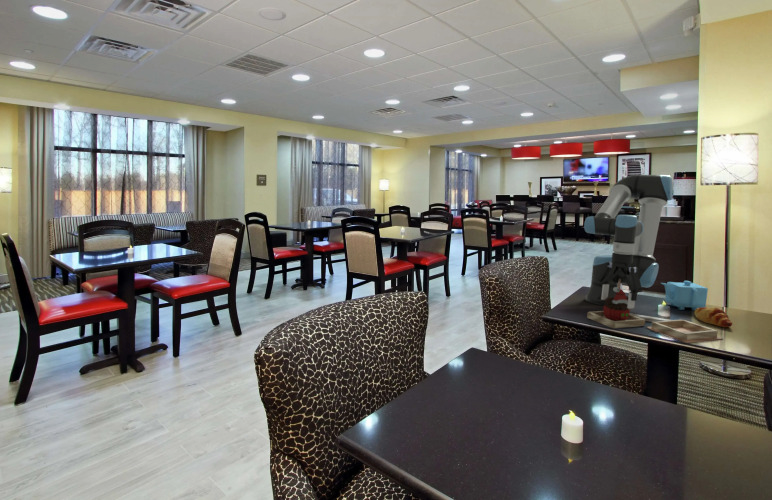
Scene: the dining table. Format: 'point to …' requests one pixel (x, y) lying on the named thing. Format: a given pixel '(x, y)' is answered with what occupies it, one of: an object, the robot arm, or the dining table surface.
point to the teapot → (685, 295)
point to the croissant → (713, 316)
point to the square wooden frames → (662, 327)
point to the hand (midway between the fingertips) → (617, 303)
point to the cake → (616, 305)
